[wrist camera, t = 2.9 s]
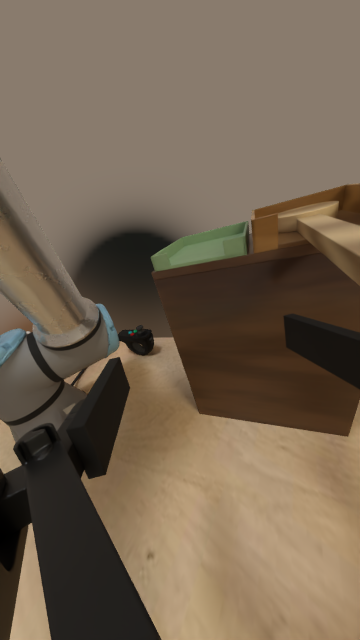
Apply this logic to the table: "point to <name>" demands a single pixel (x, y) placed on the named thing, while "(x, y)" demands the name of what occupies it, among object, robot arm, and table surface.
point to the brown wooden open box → (354, 207)
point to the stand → (261, 336)
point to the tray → (204, 247)
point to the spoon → (326, 234)
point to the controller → (138, 340)
